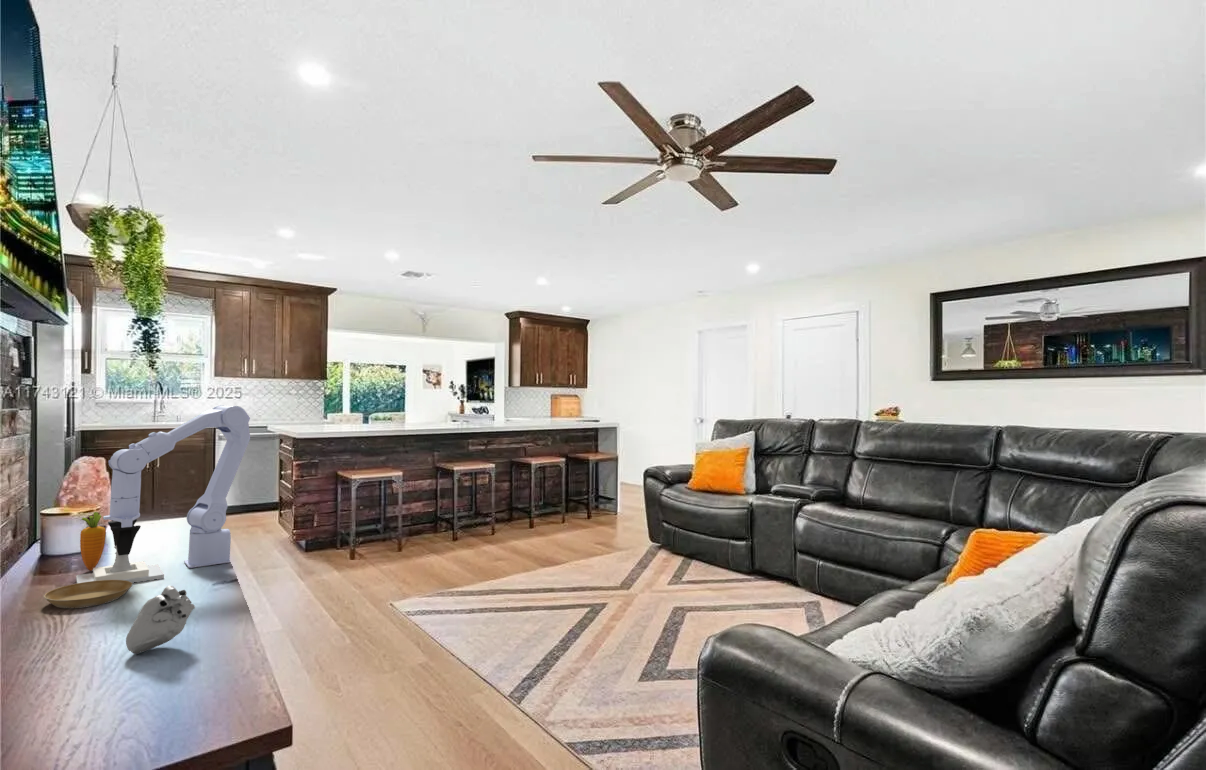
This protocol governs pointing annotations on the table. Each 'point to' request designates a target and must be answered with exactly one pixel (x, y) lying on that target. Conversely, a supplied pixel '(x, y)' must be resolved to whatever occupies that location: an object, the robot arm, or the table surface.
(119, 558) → the rook chess piece
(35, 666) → the table surface
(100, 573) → the holder stand
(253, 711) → the table surface
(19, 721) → the table surface
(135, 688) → the table surface
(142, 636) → the heart
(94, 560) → the carrot
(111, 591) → the plant saucer
